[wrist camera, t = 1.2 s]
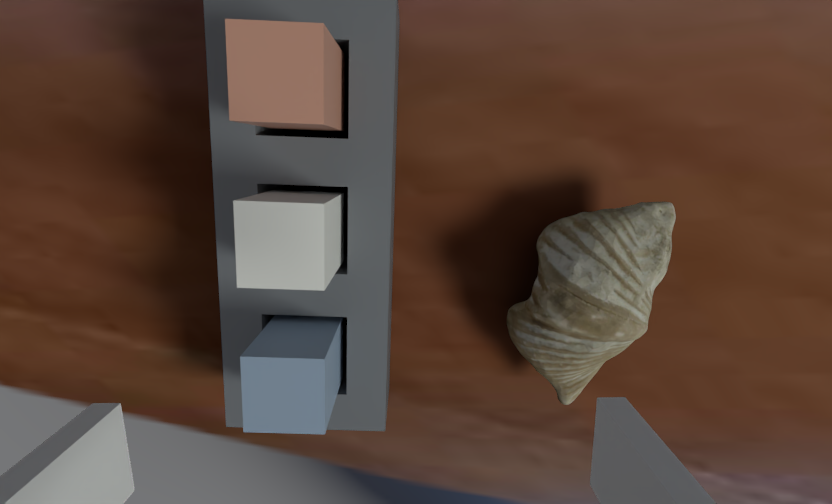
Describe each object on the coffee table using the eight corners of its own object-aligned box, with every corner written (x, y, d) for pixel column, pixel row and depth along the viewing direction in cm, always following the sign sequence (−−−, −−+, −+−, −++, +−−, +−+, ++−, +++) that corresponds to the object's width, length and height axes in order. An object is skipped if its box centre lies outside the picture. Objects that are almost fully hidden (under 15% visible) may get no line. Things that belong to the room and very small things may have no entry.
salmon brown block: (269, 51, 28) (224, 18, 21) (344, 54, 28) (323, 22, 22) (272, 128, 29) (229, 120, 22) (344, 131, 29) (323, 124, 22)
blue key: (276, 312, 32) (239, 356, 25) (343, 315, 32) (324, 359, 25) (278, 373, 33) (243, 432, 26) (342, 376, 33) (324, 434, 26)
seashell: (618, 428, 33) (616, 404, 25) (500, 376, 38) (465, 342, 30) (676, 258, 37) (690, 188, 28) (562, 230, 41) (546, 164, 33)
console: (240, 13, 32) (202, -18, 26) (399, 20, 32) (396, -10, 26) (254, 384, 38) (226, 426, 32) (389, 388, 38) (385, 431, 32)
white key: (273, 189, 30) (232, 200, 23) (343, 192, 30) (324, 203, 23) (275, 258, 31) (237, 287, 24) (343, 260, 31) (324, 290, 24)
